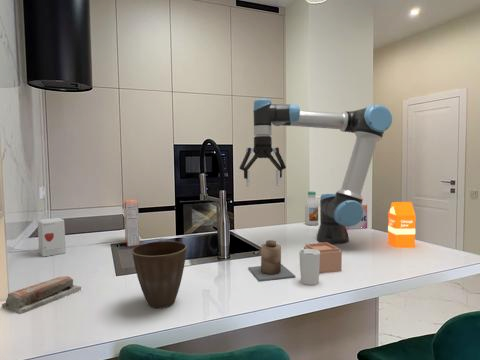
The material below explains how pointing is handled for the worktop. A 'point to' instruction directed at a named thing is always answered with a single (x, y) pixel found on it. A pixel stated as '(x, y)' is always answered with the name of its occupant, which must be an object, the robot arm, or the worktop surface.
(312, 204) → the milk bottle
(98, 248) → the worktop surface
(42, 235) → the supplement box
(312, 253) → the grey cylinder
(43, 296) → the packaged product
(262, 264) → the brown jar
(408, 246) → the orange juice
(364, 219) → the gum box
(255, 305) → the worktop surface
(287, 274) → the slate mat
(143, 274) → the plant pot
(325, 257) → the terracotta box
